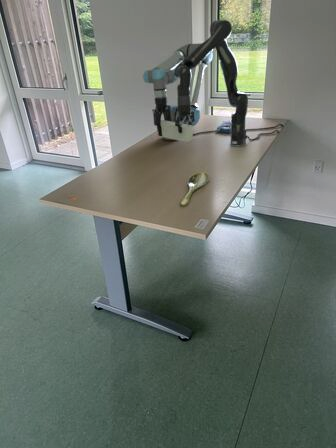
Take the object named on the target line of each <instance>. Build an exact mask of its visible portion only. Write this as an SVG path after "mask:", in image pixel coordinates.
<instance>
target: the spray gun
mask: <svg viewBox="0 0 336 448" xmlns="http://www.w3.org/2000/svg"><path fill="white" fill-rule="evenodd" d="M216 130H217V131H218V132H219V133H226V134H229V133H231V120H228V121H222V123H221V124H220V125H218V127H216Z"/></svg>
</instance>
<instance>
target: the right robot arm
mask: <svg viewBox="0 0 336 448" xmlns="http://www.w3.org/2000/svg"><path fill="white" fill-rule="evenodd" d="M232 29H233V25H232V23H231V22H230V21H229V20H226V19H216V20H213V21H212V22H211V24H210V26H209V34H210V36H209V38H207V39H206V40H205V41H203V42H201V43H202V44H200V45H199V46H198V47H197V48H195V49H194V50H193V52H192V53H191V54H190V55H189V56H188V57H187V58H186V59H184V60H183V61H182V62H181V63H179V64H178V65H177V66H176V67H175V68H174V69H173V70H174V75H175V77H177V80H178V79H179V84H177V86H176V89H177V105H178V112H179V116H175V126H177V127H178V132H179V133H182V124H183V123H184V122H185V121H188V125H192V123H193V122H194V121H195V119H194V112H193V111H191V100H190V88H189V87H190V82H191V69H192V68H195V67H197V66H198V65H199V63H200V62H201V61H202V60H203V59H204V58H205V57H206V56H207V55H208V54H209V53H210V52H211V51H212V52H213V50H214V49H215V51H216V54H217V57H218V61H219V64H220V69H221V72H222V76H223V80H224V84H225V88H226V93H227V99H228V104H229V105H230V106H231V107H232V108H235V112H232V113H231V115H230V122H231V132H230V146H231V147H236V148H237V147H243V146H245V145H246V144H247V139H248V140H249V141H256V140H257V139H259V138H260V136H261V135H272V134H274V133H276V132H277V133H279V132H280V130H279V129H275V130H273V131H271V132H261V133H258V134H257V137H255V138H250V137H249V136H248V135H247V130H245V129H246V116H247V113H248V106H249V97H248V94H246V93H245V92H240V91H239V90H238V85H237V79H238V75H239V68H238V62H237V60H236V57H235V55H234V54H233V52H232V51H231V49H230V47H229V46H228V43H227V39H228V38H229V37H230V36H231V33H232ZM192 118H193V119H192ZM180 123H181V124H180Z"/></svg>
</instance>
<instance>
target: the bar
mask: <svg viewBox="0 0 336 448" xmlns="http://www.w3.org/2000/svg"><path fill="white" fill-rule="evenodd" d="M180 124H181V123H180ZM160 126H161V128H162V136H161V138H163V137H166V138H170V139H174V140H176V141H179V142H183V143H190V142H192V141H194V135H193V134H194V132H193V130H194V129H193V126H192V125H187V124H182V133H179V132H178V127H177V126H175V122H171V121H166V120H164V119H161V123H160ZM156 134H157V137H160V136H159V135H158V131H157V130H156Z"/></svg>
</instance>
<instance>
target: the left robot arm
mask: <svg viewBox="0 0 336 448" xmlns="http://www.w3.org/2000/svg"><path fill="white" fill-rule="evenodd" d="M202 43H203V42H201V43H200V42H199V43H186V44H185V45H182V46H180V47H179V48H177V49H176V50H174V52H173V53H172V55H170V56H169V57H167V58H166V59H165V60H163V61H162V62H161V63H159V64H158V65H157V66H155V67H154V68H152V69H148V70H144V72H143V73H142V78H143V81H144V82H145V83H146V84H152V85H153V97H154V104H155V108H153V109H152V110H151V111H152V116H153V126H156V132H157V131H158V134H157V136H158V135H159V136H158V137H162V128H161V126H160V123H161V120H162V115H163V120H166V121H171V122H175V116H179V112H178V104H171V105H169V104H167V103H168V98H167V95H168V94H167V85H171V84H174V83H176V82H177V80H178V78H177V77H175V75H174V70H175V68H176V66H177V65H178V64H179V63H181V62H182V61H183V60H184V59H186V58H187V57H188V56H189V55H190V54H191V53H192V52H193V50H194V49H195V48H197V47H198V46H199V45H200V44H202ZM212 60H213V50H212V51H211V52H210V53H209V54H208V55H207V56H206V57H205V58H204V59H203V60H202V61H201V62H200V63H199V65H198V66H197V67H195V68H192V69H191V82H190V87H189V88H190V100H191V111H193V112H194V119H195V121H194V122H193V123H192V127H195V126H196V125H197V124H198V123H199V121H200V118H201V110H200V109H199V105H198V101H199V95H200V91H201V85H202V81H203V75H204V71H205V69H206V68H207V67H208V64H210V63H211V62H212ZM192 119H193V118H192ZM183 124H187V125H188V121H185V122H184V123H183ZM279 126H281V127H284V125H283V123H282V124H281V123H278V124H276V125H275V126H269V127H259V128H245V130H246V131H258V130H269V129H275V128H277V127H279ZM216 132H219V131H217V129H216V130H215V129H214V130H207V131H200V132H196V133H193V136H196V135H199V134H207V133H216ZM162 139H163V140H164V141H167V142H176V141H177V140H174V139H170V138H166V137H162Z"/></svg>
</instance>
